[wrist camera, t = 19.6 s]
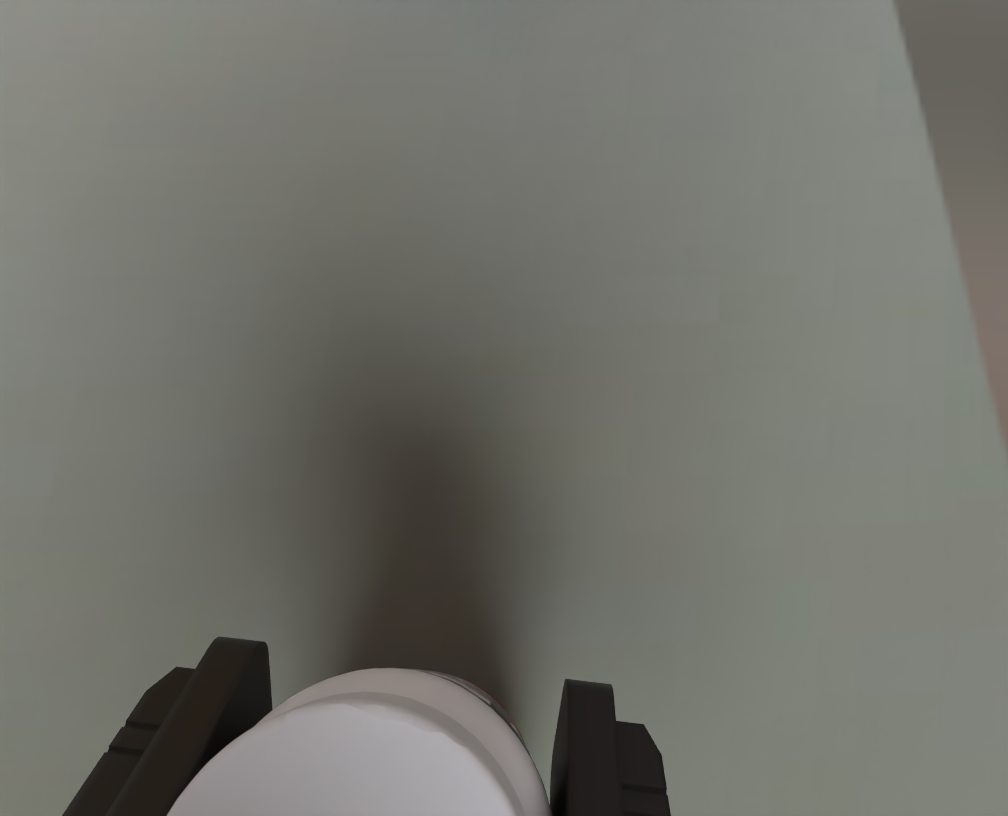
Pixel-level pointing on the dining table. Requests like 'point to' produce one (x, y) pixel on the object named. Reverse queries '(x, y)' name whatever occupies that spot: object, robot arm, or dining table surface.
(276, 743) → the pill bottle
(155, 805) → the robot arm
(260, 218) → the dining table surface
